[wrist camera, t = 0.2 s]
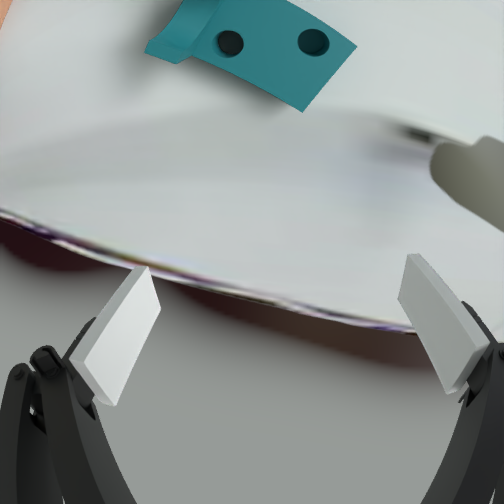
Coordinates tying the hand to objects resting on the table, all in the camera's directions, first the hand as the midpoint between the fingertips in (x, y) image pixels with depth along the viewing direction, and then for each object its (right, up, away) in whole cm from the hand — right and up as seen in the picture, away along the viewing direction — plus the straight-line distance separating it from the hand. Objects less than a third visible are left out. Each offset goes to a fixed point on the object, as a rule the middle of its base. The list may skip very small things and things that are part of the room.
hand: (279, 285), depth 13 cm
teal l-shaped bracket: (0, +28, +12) cm, 30 cm away
